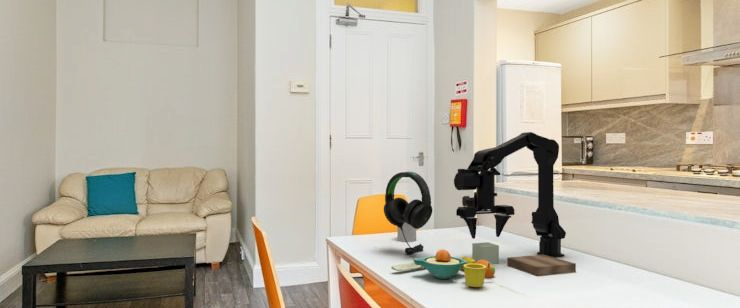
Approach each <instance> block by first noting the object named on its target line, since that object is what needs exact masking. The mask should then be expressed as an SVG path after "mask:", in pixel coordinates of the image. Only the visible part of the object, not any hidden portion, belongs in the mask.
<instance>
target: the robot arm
mask: <svg viewBox="0 0 740 308" xmlns="http://www.w3.org/2000/svg"><path fill="white" fill-rule="evenodd" d="M525 147H526V148H527V149H528V150H529V151H531V152H532V154H533V159H534V161H535V162H536V164H537V175H538V176H537V182H538V183H537V185H538V186H537V189H538V190H537V191H538V192H537V193H538V194H537V195H538V196H537V198H538V199H537V204H538V205H537V208H536V210H535V211H532V212H531V224H532V227H533V229H534V230H535V234H536V236H537V237H539V236H540V237H539V242H538V243H539V245H538V246H539V248H538V250H539V251H537V252H536V255H547V256H550V257H554V258H556V257H563V256H565V254H564V253H562V240H563V239H565V238H566V234H567V232H566V231H565V229H564V228H563V227H562V225H560V219H559V215H558V213H557V211H556V209H555V208H554V207H555V203H554V167H555V166H554V165H555V163H556V162H557V160H558V158H559V151H560V145H559V143H558V142H557V141H556V140H555V139H552V138H551V139H549V138H548V137H544V136H541V135H538V134H536V133H534V132H532V131H529V132H525V131H524V132H521V133H520V134H519V135H517V136H515V137H513V138H510V139H509V140H507V141H505V142H502V143H501V144H499V145H497V146H495V147H490V148H486V149H481V150H478V151H476V152H475V153H474V155H473V159H472V161H471V162H470V164H469V165H468V167H467V168H457V172H456V174H455V176H454V178H453V185H454V187H455V189H456V190H457V191H473V190H474V192H473V197H470V195H464V196H462V197H461V198H462V200H461V204H462V206H458V207H457V209H456V211H455V214H456V216H457V217H460V219H463V220H464V222H465V224H466V226H467V228H468V230H469V231H468V232H469V234H470V236H471V239H473V240H474V239H476V236H477V235H476V234H477V225H478V218H477V217H476V216H477V215H485V214H486V215H490V214H493V217H494V219H495V236H496V237H498V238H500V236H501V234H502V232H503V230H504V228H505V226H506V224H507V223H508V221H509V219H510V218H512V216H514V215H516V213H515V211H516V210H515V208H514V206H513V205H507V204H496V203H495V202H496V201H495V197H498V192H495V191H496V190H495V189H496V188H495V187H496V186H495V185H496V184H495V182H496V179H495V176H501V172H500V171H498V170H497V168H496V167H497V166H498V165H499V164H501V163H502V162H503V160H504V159H505V158H506V157H508V156H510V155H512V154H514V153H516V152H518V151H520V150H522V149H524V148H525ZM495 204H496V205H495Z"/></svg>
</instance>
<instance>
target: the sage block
mask: <svg viewBox="0 0 740 308" xmlns="http://www.w3.org/2000/svg"><path fill="white" fill-rule="evenodd" d="M471 247H472V248H471V251H472V252H471V255H472V256H471V258H472V259H474V260H475V262H477V261H478V260H486V261H488V262H490V263H491V264H492V265H493V266H494V265H500V263H499V261H500V258H499V257H500V254H499V253H500V245H499V244H496V243H492V242H473V243H472V246H471Z"/></svg>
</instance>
